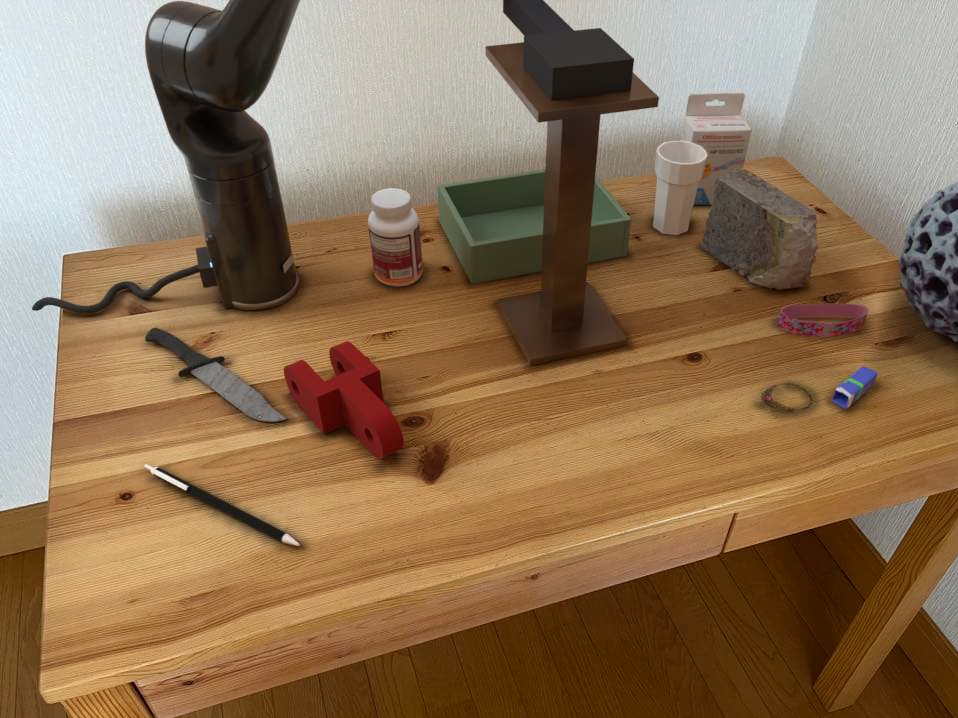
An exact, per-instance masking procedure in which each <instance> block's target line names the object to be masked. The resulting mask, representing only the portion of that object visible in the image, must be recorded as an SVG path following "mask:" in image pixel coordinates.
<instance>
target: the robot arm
mask: <svg viewBox="0 0 958 718" xmlns="http://www.w3.org/2000/svg"><path fill="white" fill-rule="evenodd" d="M300 2H301V0H229V1H228V2H227V3H226V5H225V7H224V8H223V9H217V8H214V7H210V6H207V5H202V4H200V3H195V2H192V1H186V0H175V1H174V0H173V1H170V2H167V3H164V4H163V5H161V6H160V7H158V8H157V9H156V10H155V12H153V14H152V15H151V17H150V20H149V21H148V24H147V27H146V31H145V37H144V52H145V53H144V54H145V60H146V65H147V70H148V74H149V77H150V81H151V84H152V87H153V90H154V94H155V96H156V100H157V102H158V105H159V108H160V111H161V114H162V118H163V120H164V123H165V126H166V129H167V132H168V134H169V137H170V139H171V140H172V143H173V144H174V145H175V147H176V148H177V150H178V151H179V152H180V153H181V155H182V157H183V160H184V162H185V167H186V170H187V173H188V177H189V180H190V184H191V188H192V191H193V194H194V199H195V202H196V206H197V210H198V214H199V217H200V221H201V225H202V228H203V235H204V241H205V245H206V246H201V247H200V246H199V247H196V248H195V254H196V261H197V264H195V265H193V266H189V267H186V268H184V269H181V270H177V271H176V272H173V273H170V274H168V275H165V276H163V277H161V278H160V279H158V280H157V281H156V282H154V283H153V285H151V286H150V288H148V289H145V290H144V289H142V288H141V287H140V286H139V285H138V284H137V283H135V282H134V281H128V280H127V281H120V282H117V283H115V284H113V285H112V286H111V287H110V288H109V289H108V290H107V292H106V294H104V297H103V298H102V300H100V301H99V302H98V303H95V304H91V305H80V304H76V303H72V302H69V301H66V300H64V299H60V298H57V297H52V296H46V297H42V298H40V299H39V300H37V301H35V302H34V304H33V305H32V306H31V311H34V312H35V311H36V312H38V311H41V310H42V309H43V308H45V307H46V306H54V307H57V308H60V309H63V310H65V311H69V312H72V313H76V314H84V315H88V314H89V315H90V314H95V313H96V314H97V313H99V312H102V311H103V310H105V309H107V308H108V307H109V306H110V305H111V303H113V300H114V299H115V297H116V296H117V294H118V293H120V292H121V291H124V290H129V291H131V292H132V293H134V295H135V296H136V297H138V298H141V299H149V298H152V297H153V296H155V295H156V294H158V293H159V292H160V291H161V290H162V289H163V288H164V287H165V286H167V285H169V284H171V283H174V282H176V281H179V280H182V279H185V278H187V277H191V276H193V275H196V274H199V276H200V279H201V283H202V287H203V288H204V289H206V288H212V287H217V289H218V293H219V296H220V300H221V303H222V304H221V305H222V307H223V308H224V309H230V308H235V309H238V310H242V311H261V310H268V309H272V308H275V307H278V306H280V305H282V304H284V303H286V302H288V301H289V300H291V299H292V298H293V297H294V295H296V293H297V292H298V290H299V286H300V281H299V276H298V273H297V267H296V265H295V257H294V253H293V250H292V243H291V239H290V234H289V229H288V224H287V217H286V213H285V209H284V203H283V199H282V193H281V188H280V183H279V178H278V173H277V166H276V163H275V157H274V152H273V148H272V142H271V139H270V135H269V134H268V132H267V130H266V129H265V128H264V126H263V125H261V124H260V123H259V122H258V121H257V120H256V119H254V118H253V117H252V116H251V115H250V114H249V113H248V112H247V111H246V110H248V109H250V108H251V107H253V106H254V105H255V104H256V103H257V102H258V101H259V100H260V98H261V97H262V96H263V94H264V93H265V91H266V90H267V88H268V86H269V84H270V81H271V79H272V77H273V75H274V73H275V70H276V67H277V65H278V62H279V59H280V58H281V54H282V52H283V48H284V46H285V43H286V40H287V38H288V34H289V32H290V29H291V26H292V23H293V21H294V18H295V15H296V12H297V10H298V7H299V5H300Z"/></svg>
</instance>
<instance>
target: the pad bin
mask: <svg viewBox="0 0 958 718" xmlns="http://www.w3.org/2000/svg"><path fill="white" fill-rule="evenodd" d="M545 169H546V168H545ZM545 169H544V168H543V169H538V170H531V171H524V172H516V173H511V174H503V175H497V176H490V177H484V178H483V177H481V178H476V179H469V180H463V181H462V180H461V181H456V182H450V183H442V184H437V204H438V205H437V206H438V221H439V223H440V225H441V227H442V230H443V231H444V233H445V235H446V237H447V239H448V241H449V243H450V245H451V247H452V249H453V251H454V253H455V255H456V257H457V259H458V261H459V262H460V265H461V267H462V268H463V270H464V272H465V275H466V276H467V278H468V281H469V282H470V284H471V285H475V284H478V283H484V282H490V281H495V280H501V279H507V278H513V277H517V276H524V275H529V274H535V273H541V267H542V242H543V218H544V194H545ZM631 226H632V218H631V217H630V216H629V215H628V214H627V212H626V211H625V209H623V207H622V206H621V205H620V203H619V202H618V201H617V200H616V198H615V196H613V194H612V193H611V192H610V191H609V190H608V188H607V187H606V186H605V185H604V184H603V182H602V181H601V180H600V178H598V176H597V175H596V174H595V185H594V197H593V209H592V220H591V232H590V244H589V256H588V264H590V263H596V262H600V261H606V260H607V261H608V260H611V259H618V258H623V257H627V256H628V251H629V242H630V233H631Z"/></svg>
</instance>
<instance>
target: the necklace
mask: <svg viewBox="0 0 958 718" xmlns="http://www.w3.org/2000/svg"><path fill="white" fill-rule="evenodd" d="M784 385H785V386H786V385H787V386H794V387H799V388H800V389H802V390H803V391H805V392H806V393H807V395H808V396H809V397H810V398H809V399H810V402H809V404H808V405H807V406H805V407H804V409H808V408H809V407H811V406H812V404H813V398H812V397H813V396H812V395H811V394H810V393H809V392H808V391H807V389H805V388H804V387H802V386H800V385H798V384H794V383H781V386H784ZM779 386H780V383H779V384H775V385H774V384H773V385H772V386H770V387H768V388H767V389H766V390H764V391H763V392H761V396H760V398H761V401H762V403H763V404H764V405H767V406H768V407H770V408H772V409H778V410H783V411H787V412H790V413H792V412H794V411H799V408H791V407H789V406H786V405H783V404H781V403H780V402H778V401H775V400H774V399H773V397H772V392H773V391H774V390H775V389H776V388H777V387H779ZM802 410H803V408H800V411H802Z"/></svg>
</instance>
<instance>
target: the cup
mask: <svg viewBox="0 0 958 718" xmlns="http://www.w3.org/2000/svg"><path fill="white" fill-rule="evenodd" d="M707 156H708V155H707V152H706V150H705V149H703V148H702V147H701V146H699V145H697V144H694V143H691V142H686V141H680V140H669V141H665V142H663V143H661V144H659V145H658V147H657V148H656V150H655V162H654V173H655V175H656V187H655V197H654V198H655V199H654V210H653V222H652V228H654V229H655V230H657V231H658V232H659V233H660V234H663V235H671V236H678V235H681V234H684V233H686V232H688V231H689V225H690V222H691V219H692V212H693V209H694V206H695V205H694V201H695V196H696V192H697V188H698V184H699V181H700V180H701V178H702V176H703V173H704V169H705V164H706V160H707Z"/></svg>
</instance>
